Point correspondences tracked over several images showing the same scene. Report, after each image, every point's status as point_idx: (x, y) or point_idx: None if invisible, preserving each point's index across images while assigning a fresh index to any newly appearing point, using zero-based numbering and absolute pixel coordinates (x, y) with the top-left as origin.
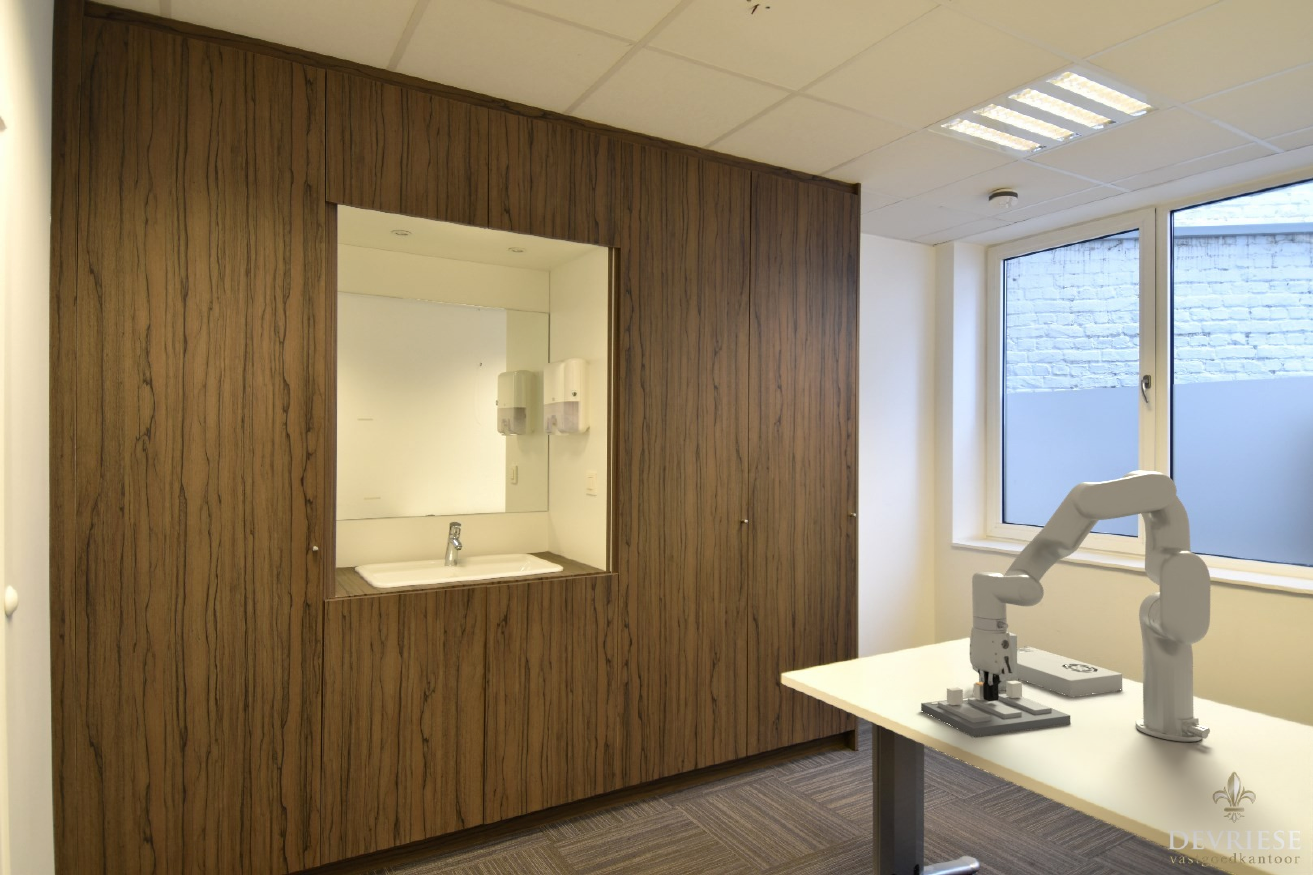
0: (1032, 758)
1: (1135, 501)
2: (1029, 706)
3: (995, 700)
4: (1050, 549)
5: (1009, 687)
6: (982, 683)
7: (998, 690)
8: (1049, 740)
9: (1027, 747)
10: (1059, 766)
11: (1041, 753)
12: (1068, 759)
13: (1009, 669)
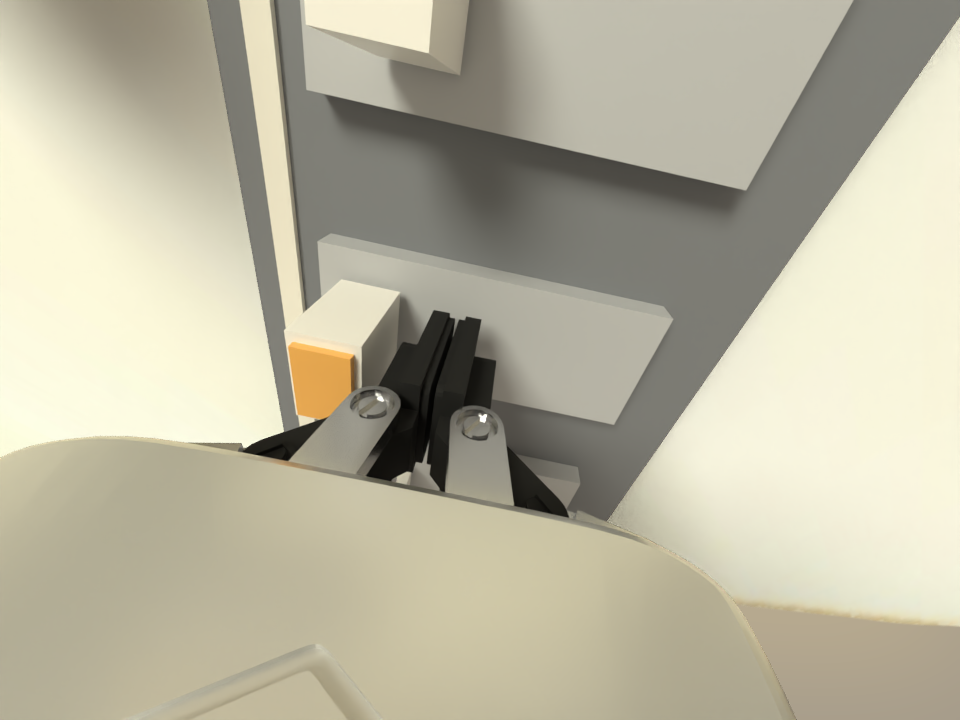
0: (803, 537)
1: None
2: (670, 133)
3: (477, 340)
4: None
5: (393, 51)
6: (332, 389)
7: (473, 354)
8: (840, 367)
9: (763, 484)
10: (905, 535)
11: (826, 494)
12: (943, 478)
13: (624, 564)
